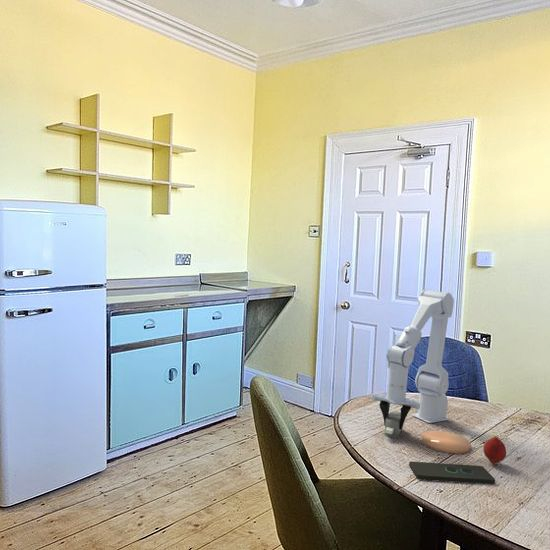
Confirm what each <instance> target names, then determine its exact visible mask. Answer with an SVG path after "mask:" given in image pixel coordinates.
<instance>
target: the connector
mask: <svg viewBox="0 0 550 550" xmlns="http://www.w3.org/2000/svg"><path fill="white" fill-rule="evenodd" d="M400 419H401V411H400V412H399V411H389V414H388V416H387V417H386V422H385V426H384V436H385V435H386V437H387V436H388V438H391V437H393V438H394V437H396V438H397V437H399V435H400V434H401V431H402V430H400V429H399V425H400ZM393 438H392V439H393Z"/></svg>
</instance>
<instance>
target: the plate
mask: <svg viewBox="0 0 550 550" xmlns="http://www.w3.org/2000/svg"><path fill="white" fill-rule="evenodd" d="M421 442H422V444H424V445H425V446H427V447H428V448H430V449H432V450H435V451H438V452H441V453H446V454H447V453H448V454H454V455H455V454H457V455H458V454H459V455H460V454H467V453H468V452H470V451H471V448H472V443H471V442H470V440H468V439H467V438H465V437H463V436H462V435H459V434H457V433H452V432H450V431H444V430H428V431H425V432H423V433H422V434H421Z"/></svg>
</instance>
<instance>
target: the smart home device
mask: <svg viewBox="0 0 550 550" xmlns="http://www.w3.org/2000/svg"><path fill="white" fill-rule="evenodd" d="M409 466H410V467H409ZM408 467H409V469H410V468H411V469H410V471H413V472H412V473H413V475H414V477H415V476H416V477H415V478H416V479H417V480H419V479H425V480H424V481H432V480H439V481H438V482H449V481H453V483H454V482H455V483H466V484H468V483H469V484H471V483H472V484H485V485H486V484H487V485H495V483H496V479H495V477H494V476H493V475H492V474H491V473H490V472H489V471H488V470H487V469H486V468H485V467H484V466H482V465H475V464H459V463H456V464H455V463H442V462H441V463H439V462H427V461H426V462H425V461H409V463H408Z"/></svg>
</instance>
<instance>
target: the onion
mask: <svg viewBox="0 0 550 550" xmlns="http://www.w3.org/2000/svg"><path fill="white" fill-rule="evenodd" d="M482 450H483V454H484V456H485V457H486V458H487V459H488V460H489V462H490V463H491V464H493V465H494V464H495V465H496V464H499V463H500V462H501V461H503V460H504V459H506V457H507V448H506V446H505V444H504V442H503V441H502V440H501V439H500V438H499V437H498V436H497V435H496V434H494V435H493V437H492V438H489V439H488V440H486V442H485V443H484V444H483V448H482Z"/></svg>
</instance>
